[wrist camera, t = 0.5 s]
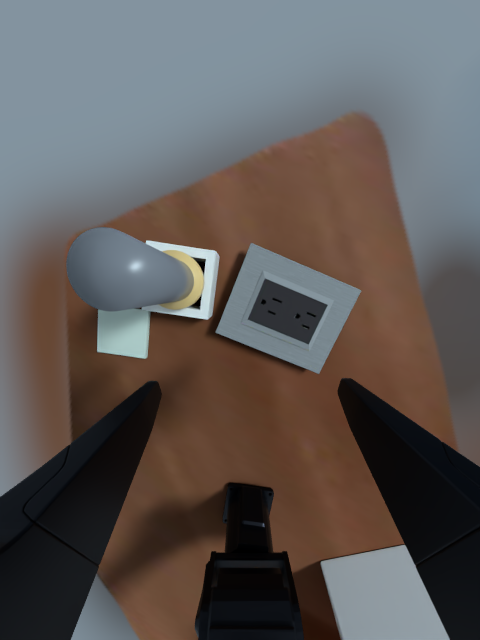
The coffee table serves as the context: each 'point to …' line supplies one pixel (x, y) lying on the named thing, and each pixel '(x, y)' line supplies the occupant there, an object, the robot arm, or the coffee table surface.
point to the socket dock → (209, 281)
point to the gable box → (381, 597)
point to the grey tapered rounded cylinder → (131, 273)
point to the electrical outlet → (286, 309)
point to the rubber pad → (124, 332)
